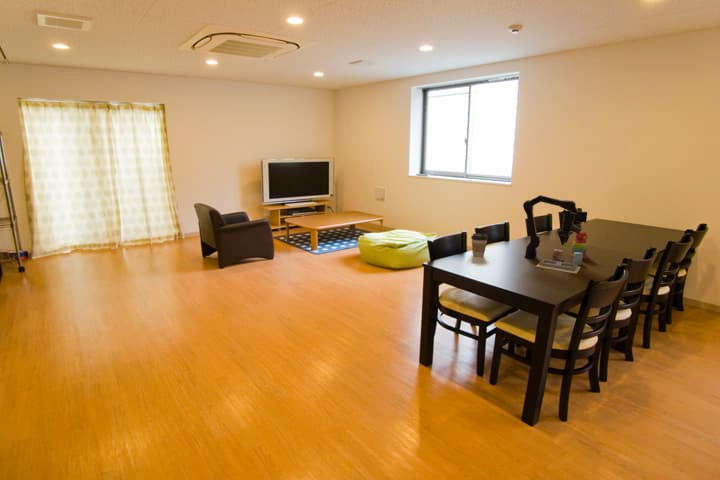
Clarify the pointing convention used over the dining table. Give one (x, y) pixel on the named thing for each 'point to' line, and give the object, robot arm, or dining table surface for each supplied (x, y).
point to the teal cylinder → (577, 258)
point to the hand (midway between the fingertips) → (564, 243)
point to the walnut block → (557, 255)
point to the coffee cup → (479, 244)
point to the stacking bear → (580, 245)
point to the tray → (559, 266)
